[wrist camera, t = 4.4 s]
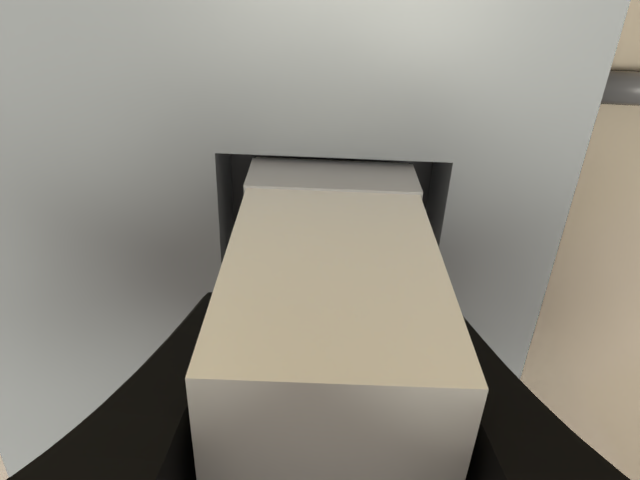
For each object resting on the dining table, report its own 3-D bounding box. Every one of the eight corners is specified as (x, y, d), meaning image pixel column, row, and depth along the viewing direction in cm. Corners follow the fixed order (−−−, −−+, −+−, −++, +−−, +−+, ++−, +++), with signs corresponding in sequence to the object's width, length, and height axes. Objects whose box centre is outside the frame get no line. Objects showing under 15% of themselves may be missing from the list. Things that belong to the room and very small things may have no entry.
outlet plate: (453, 507, 19) (468, 575, 17) (61, 492, 19) (29, 559, 17) (599, -74, 11) (665, -77, 9) (-120, -105, 11) (-229, -115, 8)
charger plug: (391, 317, 13) (438, 598, 8) (257, 312, 13) (205, 591, 8) (411, 160, 11) (494, 385, 6) (253, 154, 11) (180, 373, 6)
